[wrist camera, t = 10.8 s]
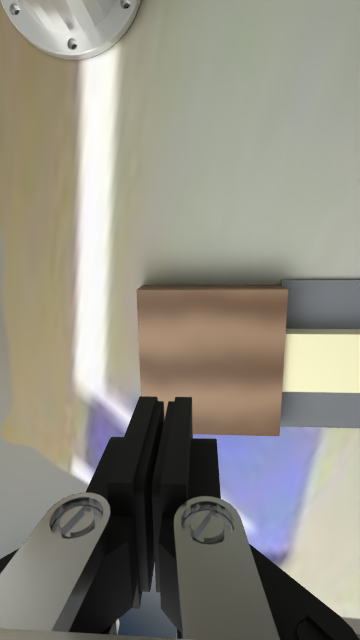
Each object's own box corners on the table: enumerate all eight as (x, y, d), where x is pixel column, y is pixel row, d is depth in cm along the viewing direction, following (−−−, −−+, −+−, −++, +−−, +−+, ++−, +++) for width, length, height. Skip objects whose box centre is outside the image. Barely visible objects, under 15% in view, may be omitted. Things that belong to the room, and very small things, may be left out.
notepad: (280, 328, 35) (285, 334, 33) (372, 329, 34) (382, 334, 32) (277, 383, 36) (281, 391, 34) (365, 384, 36) (374, 393, 34)
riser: (142, 285, 35) (136, 290, 32) (280, 285, 34) (288, 289, 31) (147, 418, 39) (142, 432, 36) (273, 420, 38) (279, 436, 35)
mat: (281, 279, 34) (281, 280, 34) (428, 279, 33) (430, 279, 33) (273, 424, 38) (273, 426, 37) (405, 427, 37) (406, 429, 37)
